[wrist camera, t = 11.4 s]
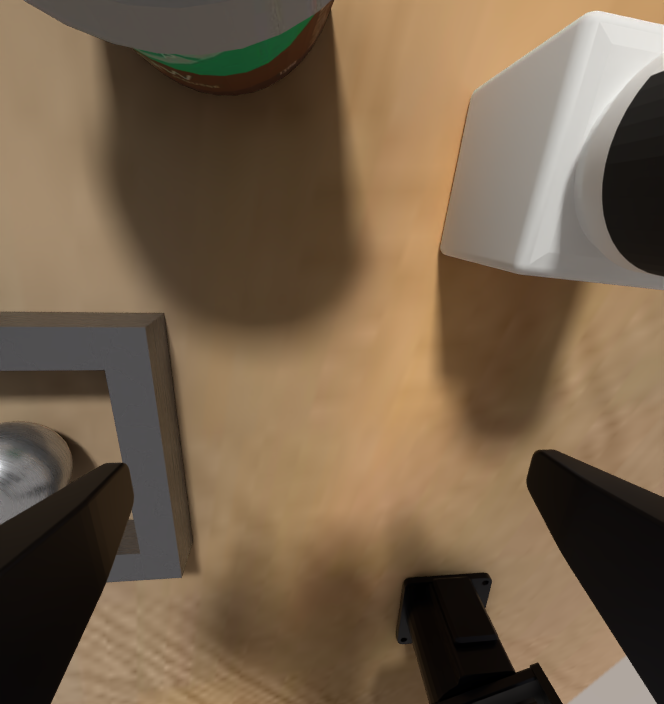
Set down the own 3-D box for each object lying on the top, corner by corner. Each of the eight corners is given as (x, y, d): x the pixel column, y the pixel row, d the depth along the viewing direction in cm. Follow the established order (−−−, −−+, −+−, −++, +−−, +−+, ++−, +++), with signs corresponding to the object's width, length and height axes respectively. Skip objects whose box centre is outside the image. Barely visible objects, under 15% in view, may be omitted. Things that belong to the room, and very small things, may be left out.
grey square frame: (192, 541, 24) (181, 577, 21) (-67, 555, 22) (-110, 595, 20) (163, 313, 18) (144, 327, 16) (-178, 310, 17) (-254, 325, 15)
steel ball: (97, 477, 21) (51, 549, 17) (-1, 485, 21) (-77, 563, 16) (79, 400, 20) (24, 457, 15) (-28, 405, 19) (-122, 467, 14)
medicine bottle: (563, 268, 20) (920, 338, 8) (436, 253, 19) (648, 310, 8) (612, 114, 17) (1201, -72, 6) (469, 88, 16) (854, -186, 5)
